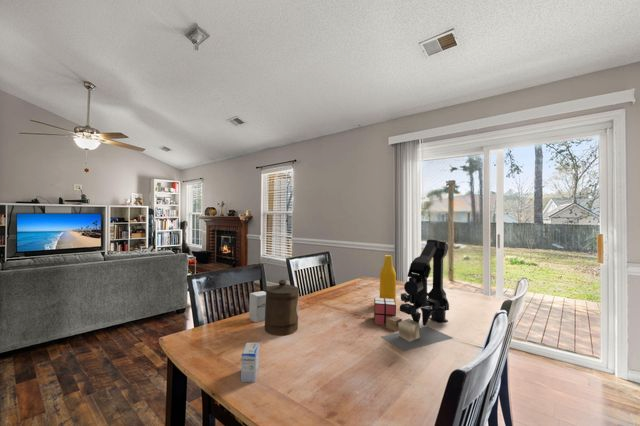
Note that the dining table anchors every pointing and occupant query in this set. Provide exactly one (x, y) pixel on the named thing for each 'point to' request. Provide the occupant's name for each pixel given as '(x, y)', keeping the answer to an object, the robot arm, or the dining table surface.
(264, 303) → the supplement box
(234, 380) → the dining table surface
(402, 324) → the beech cube
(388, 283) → the beer bottle
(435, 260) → the robot arm
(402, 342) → the rubber mat
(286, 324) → the wooden container
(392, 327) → the walnut cube
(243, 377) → the medicine box
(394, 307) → the puzzle cube
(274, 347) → the dining table surface
